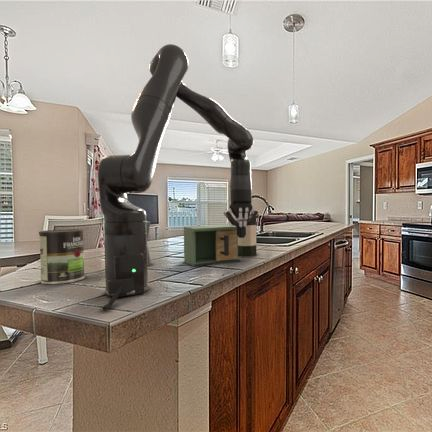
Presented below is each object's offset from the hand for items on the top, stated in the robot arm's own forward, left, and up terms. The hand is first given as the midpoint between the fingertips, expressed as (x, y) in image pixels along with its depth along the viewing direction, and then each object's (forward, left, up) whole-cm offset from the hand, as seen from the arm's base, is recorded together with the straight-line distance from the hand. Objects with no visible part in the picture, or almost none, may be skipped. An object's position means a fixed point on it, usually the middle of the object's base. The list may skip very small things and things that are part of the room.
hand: (241, 237), depth 114 cm
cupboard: (+11, +7, -9) cm, 16 cm away
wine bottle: (+17, -11, -10) cm, 22 cm away
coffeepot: (+20, +31, -10) cm, 38 cm away
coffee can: (+8, +52, -10) cm, 54 cm away
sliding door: (+2, +4, -8) cm, 9 cm away
